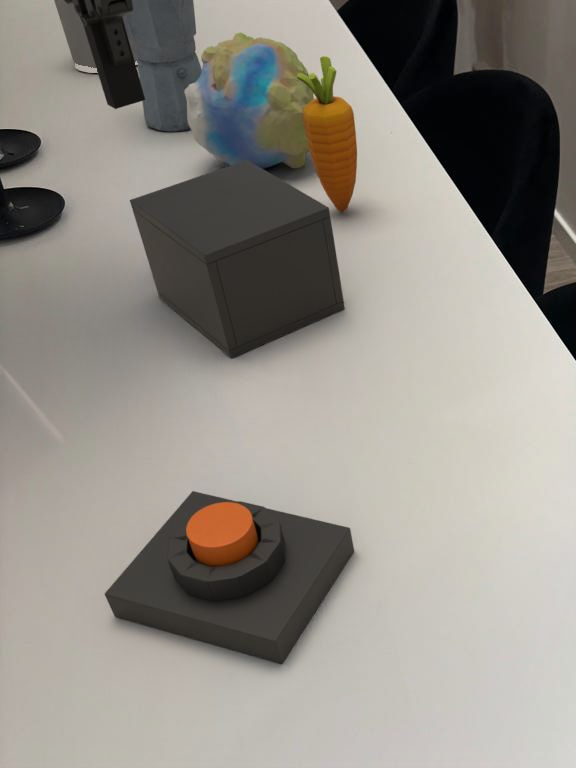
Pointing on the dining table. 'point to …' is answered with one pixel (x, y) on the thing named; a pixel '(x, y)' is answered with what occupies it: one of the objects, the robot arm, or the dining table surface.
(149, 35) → the moka pot
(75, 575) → the dining table surface
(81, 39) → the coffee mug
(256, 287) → the dark grey panelled cube
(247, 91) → the decorative rock
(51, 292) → the dining table surface
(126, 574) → the control pad
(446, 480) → the dining table surface
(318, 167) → the carrot
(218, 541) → the button
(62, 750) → the dining table surface
